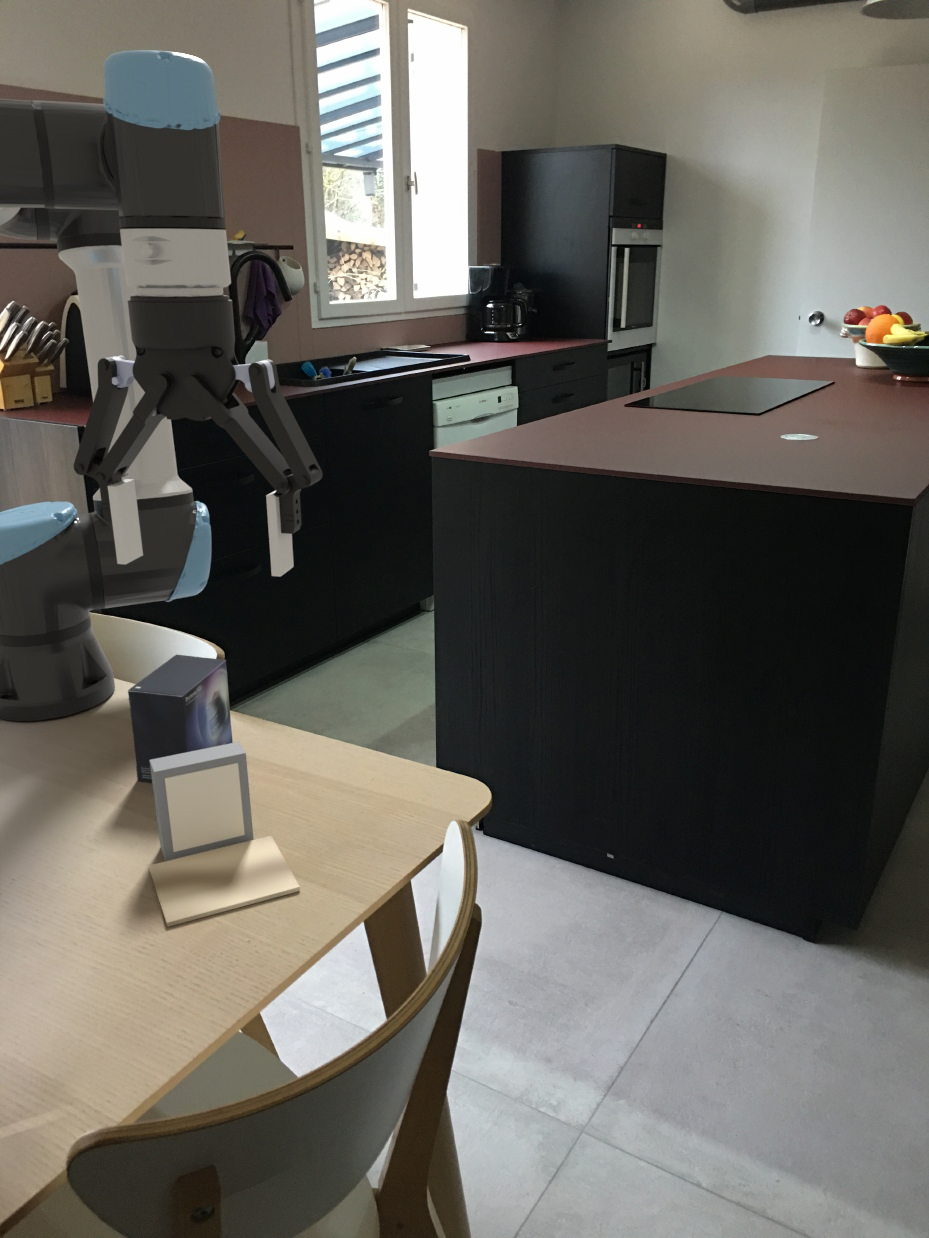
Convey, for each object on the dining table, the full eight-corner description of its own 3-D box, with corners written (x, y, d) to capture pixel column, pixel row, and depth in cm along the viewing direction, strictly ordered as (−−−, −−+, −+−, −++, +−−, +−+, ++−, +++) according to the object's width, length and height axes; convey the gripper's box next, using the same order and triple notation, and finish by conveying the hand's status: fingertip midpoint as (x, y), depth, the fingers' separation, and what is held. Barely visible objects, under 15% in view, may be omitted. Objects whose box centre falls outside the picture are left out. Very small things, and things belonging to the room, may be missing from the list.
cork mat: (149, 869, 86) (148, 865, 86) (271, 839, 90) (271, 835, 90) (167, 926, 78) (166, 922, 78) (299, 890, 83) (299, 886, 83)
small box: (193, 789, 99) (183, 695, 96) (135, 783, 101) (122, 690, 97) (236, 743, 109) (228, 656, 106) (183, 739, 110) (173, 652, 107)
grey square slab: (160, 847, 89) (149, 759, 86) (247, 826, 93) (239, 741, 90) (165, 862, 87) (154, 772, 84) (253, 840, 90) (246, 753, 87)
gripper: (-1, 292, 72) (42, 567, 79) (319, 296, 66) (333, 591, 74) (61, 288, 78) (95, 543, 86) (355, 292, 73) (364, 562, 81)
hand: (205, 565), depth 80 cm, fingers open, 13 cm apart
